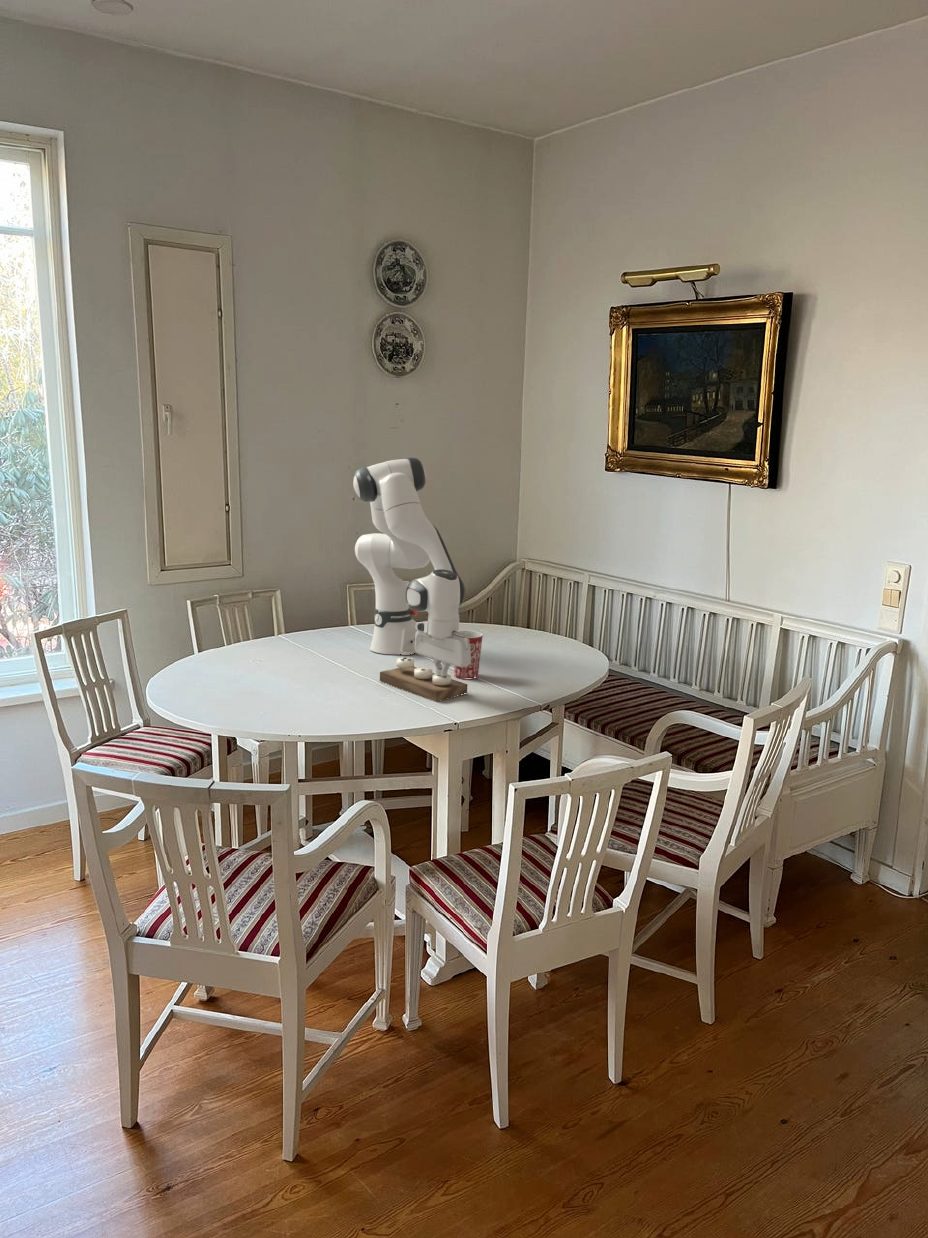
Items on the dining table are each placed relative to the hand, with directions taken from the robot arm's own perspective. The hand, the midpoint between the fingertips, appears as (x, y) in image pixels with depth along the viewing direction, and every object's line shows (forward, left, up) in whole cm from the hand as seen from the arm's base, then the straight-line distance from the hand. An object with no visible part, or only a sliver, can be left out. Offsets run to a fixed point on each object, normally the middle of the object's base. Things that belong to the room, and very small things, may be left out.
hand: (441, 675), depth 268 cm
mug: (-19, -11, -6) cm, 23 cm away
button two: (0, 0, -2) cm, 2 cm away
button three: (0, -16, -1) cm, 16 cm away
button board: (0, -8, -6) cm, 10 cm away
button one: (0, -8, -2) cm, 8 cm away
